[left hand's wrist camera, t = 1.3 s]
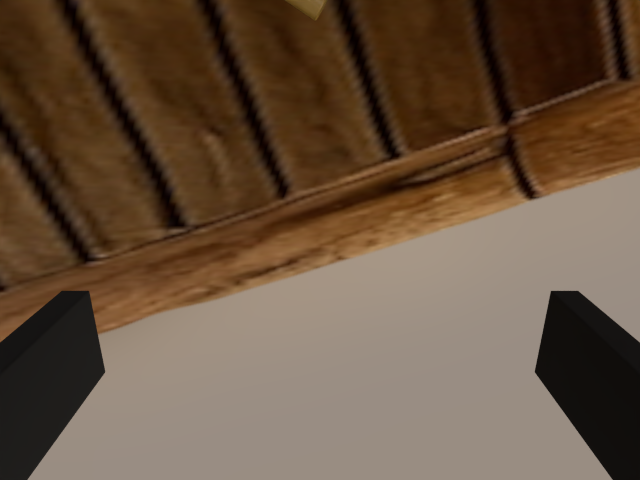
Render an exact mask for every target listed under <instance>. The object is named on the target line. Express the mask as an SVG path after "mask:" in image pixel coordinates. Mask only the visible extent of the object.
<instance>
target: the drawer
mask: <svg viewBox="0 0 640 480" xmlns="http://www.w3.org/2000/svg"><path fill="white" fill-rule="evenodd" d="M285 1H286V2H288V3H289V4H291V5H292V6H294V7H295V8H297V9H298V10H300V11H301V12H303V13H304V14H306V15H307V16H308V17H310V18H311V19H313V20H314V21H316V20H317V18H318V17H319V15H320V13H321V12H322V10H323V8H324V6H325V4H326V2H327V0H285Z"/></svg>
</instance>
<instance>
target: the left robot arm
mask: <svg viewBox="0 0 640 480" xmlns="http://www.w3.org/2000/svg"><path fill="white" fill-rule="evenodd" d="M104 373H105V368H104V364H103V358H102V353H101V349H100V344H99V339H98V334H97V329H96V324H95V319H94V314H93V309H92V304H91V299H90V294H89V291H61V292H60V293H59V294H58V295H57V296H55V297H54V298H53V299H52V300H51V301H49V302H48V303H47V304H46V305H45V306H43V307H42V308H41V309H40V310H39V311H37V312H36V313H35V314H34V315H33V316H31V317H30V318H29V319H28V320H27V321H25V322H24V323H23V324H22V325H21V326H19V327H18V328H17V329H16V330H15V331H14V332H12V333H11V334H10V335H9V336H8V337H6V338H5V339H4V340H3V341H2V342H0V480H27V479H28V478H29V477H30V475H31V474H32V472H33V471H34V470H35V468H36V467H37V466H38V464H39V463H40V461H41V460H42V459H43V457H44V456H45V455H46V453H47V452H48V450H49V449H50V448H51V446H52V445H53V443H54V442H55V441H56V439H57V438H58V437H59V435H60V434H61V432H62V431H63V430H64V428H65V427H66V425H67V424H68V423H69V421H70V420H71V419H72V417H73V416H74V414H75V413H76V412H77V410H78V409H79V408H80V406H81V405H82V403H83V402H84V401H85V399H86V398H87V396H88V395H89V394H90V392H91V391H92V390H93V388H94V387H95V385H96V384H97V383H98V381H99V380H100V379H101V377H102V376H103V374H104ZM535 373H536V374H537V376H538V377H539V378H540V380H541V381H542V383H543V384H544V385H545V387H546V388H547V390H548V391H549V392H550V394H551V395H552V396H553V398H554V399H555V401H556V402H557V403H558V405H559V406H560V408H561V409H562V410H563V412H564V413H565V414H566V416H567V417H568V418H569V420H570V421H571V423H572V424H573V426H574V427H575V428H576V430H577V431H578V432H579V434H580V435H581V437H582V438H583V439H584V441H585V442H586V443H587V445H588V446H589V448H590V449H591V450H592V452H593V453H594V455H595V456H596V457H597V459H598V460H599V461H600V463H601V464H602V466H603V467H604V468H605V470H606V471H607V472H608V474H609V475H610V477H611V478H612V479H613V480H640V342H638V341H637V340H636V339H635V338H634V337H632V336H631V335H630V334H629V333H628V332H626V331H625V330H624V329H623V328H622V327H620V326H619V325H618V324H617V323H616V322H615V321H613V320H612V319H611V318H610V317H609V316H607V315H606V314H605V313H604V312H603V311H601V310H600V309H599V308H598V307H597V306H595V305H594V304H593V303H592V302H591V301H589V300H588V299H587V298H586V297H585V296H583V295H582V294H581V293H580V292H579V291H551V294H550V299H549V304H548V309H547V314H546V319H545V324H544V329H543V334H542V339H541V344H540V349H539V354H538V359H537V364H536V368H535Z"/></svg>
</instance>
